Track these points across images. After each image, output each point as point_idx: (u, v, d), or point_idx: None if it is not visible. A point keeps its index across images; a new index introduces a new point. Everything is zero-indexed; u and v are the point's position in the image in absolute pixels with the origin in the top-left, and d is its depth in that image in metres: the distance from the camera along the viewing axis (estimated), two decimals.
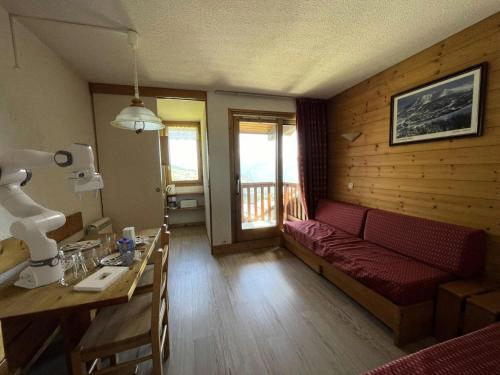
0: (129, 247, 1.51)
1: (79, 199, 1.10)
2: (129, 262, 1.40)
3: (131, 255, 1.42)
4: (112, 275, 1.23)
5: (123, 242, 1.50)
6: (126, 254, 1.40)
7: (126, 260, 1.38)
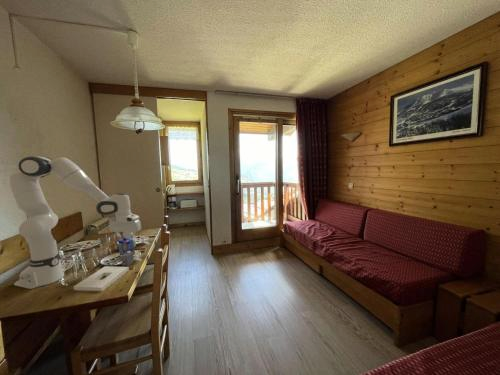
0: (129, 247, 1.51)
1: (134, 236, 1.40)
2: (129, 262, 1.40)
3: (131, 255, 1.42)
4: (112, 275, 1.23)
5: (123, 242, 1.50)
6: (126, 254, 1.40)
7: (126, 260, 1.38)
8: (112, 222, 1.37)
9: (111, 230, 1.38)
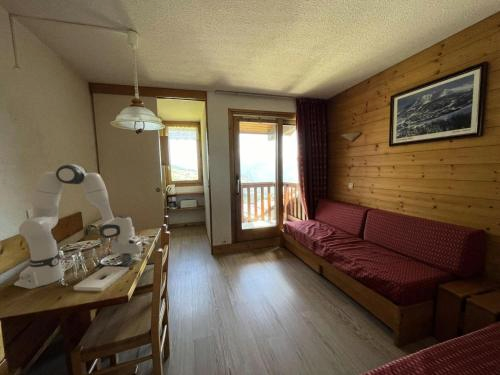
0: None
1: (132, 258, 1.41)
2: (129, 262, 1.40)
3: None
4: (112, 275, 1.23)
5: None
6: (126, 254, 1.40)
7: (126, 260, 1.38)
8: (114, 244, 1.39)
9: (113, 252, 1.40)
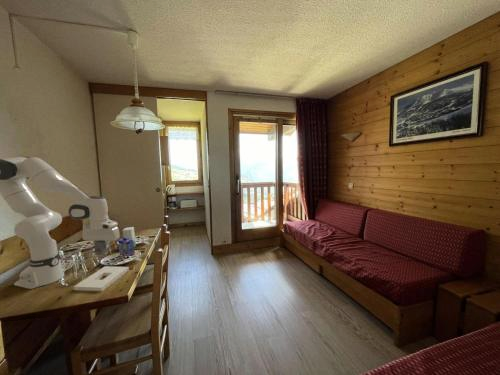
0: (129, 247, 1.51)
1: (107, 246, 1.22)
2: (103, 250, 1.21)
3: None
4: (112, 275, 1.23)
5: (123, 242, 1.50)
6: (100, 241, 1.21)
7: (100, 248, 1.19)
8: (86, 229, 1.20)
9: (85, 238, 1.21)
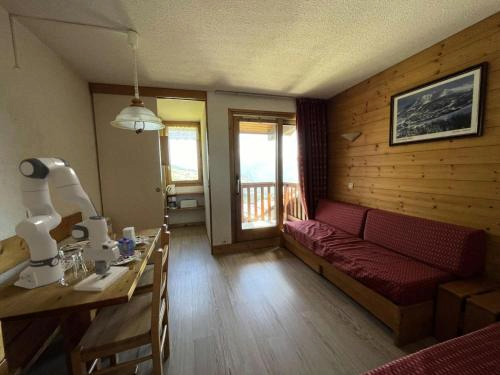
0: (129, 247, 1.51)
1: (108, 265, 1.22)
2: (104, 270, 1.21)
3: None
4: (112, 275, 1.23)
5: (123, 242, 1.50)
6: (100, 261, 1.21)
7: (100, 268, 1.19)
8: (86, 249, 1.20)
9: (85, 258, 1.21)
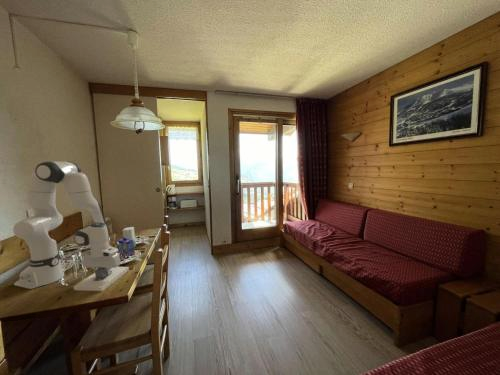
0: (129, 247, 1.51)
1: (109, 272, 1.23)
2: (104, 278, 1.22)
3: (107, 269, 1.24)
4: (112, 275, 1.23)
5: (123, 242, 1.50)
6: (101, 268, 1.22)
7: (100, 275, 1.20)
8: (87, 256, 1.20)
9: (86, 265, 1.21)
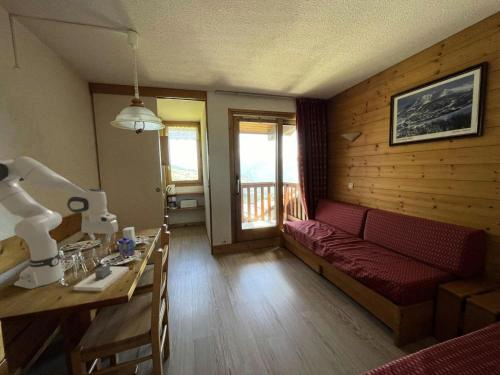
0: (129, 247, 1.51)
1: (109, 239, 1.22)
2: (104, 278, 1.22)
3: (107, 269, 1.24)
4: (112, 275, 1.23)
5: (123, 242, 1.50)
6: (101, 268, 1.22)
7: (100, 275, 1.20)
8: (85, 222, 1.20)
9: (84, 231, 1.21)
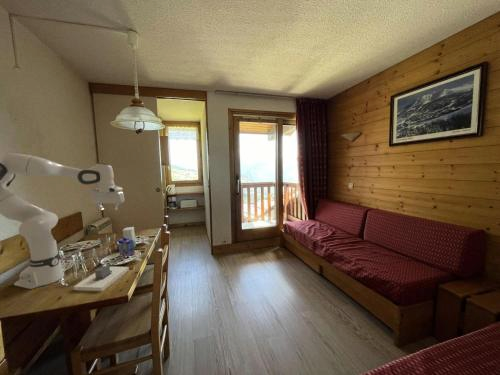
0: (129, 247, 1.51)
1: (117, 208, 1.37)
2: (104, 278, 1.22)
3: (107, 269, 1.24)
4: (112, 275, 1.23)
5: (123, 242, 1.50)
6: (101, 268, 1.22)
7: (100, 275, 1.20)
8: (94, 193, 1.35)
9: (93, 201, 1.35)
